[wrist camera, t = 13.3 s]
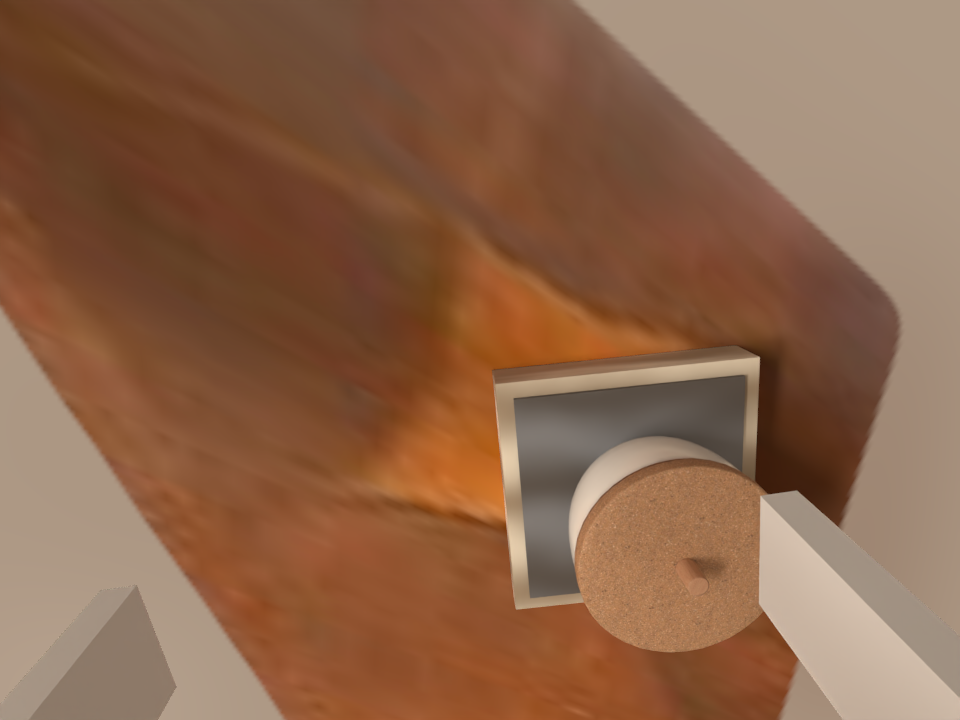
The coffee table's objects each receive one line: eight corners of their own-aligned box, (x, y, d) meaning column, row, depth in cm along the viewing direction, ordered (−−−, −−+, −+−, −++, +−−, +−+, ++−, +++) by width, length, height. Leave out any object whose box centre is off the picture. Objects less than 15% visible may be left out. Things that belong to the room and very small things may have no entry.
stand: (492, 370, 36) (495, 385, 33) (735, 345, 36) (762, 358, 33) (511, 580, 40) (516, 612, 37) (729, 557, 41) (753, 587, 37)
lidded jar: (750, 442, 35) (853, 524, 26) (674, 582, 37) (745, 703, 28) (593, 385, 33) (644, 451, 24) (526, 535, 36) (549, 646, 27)
